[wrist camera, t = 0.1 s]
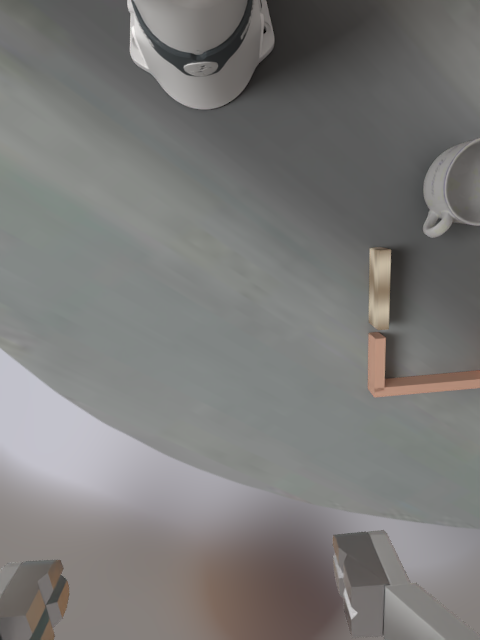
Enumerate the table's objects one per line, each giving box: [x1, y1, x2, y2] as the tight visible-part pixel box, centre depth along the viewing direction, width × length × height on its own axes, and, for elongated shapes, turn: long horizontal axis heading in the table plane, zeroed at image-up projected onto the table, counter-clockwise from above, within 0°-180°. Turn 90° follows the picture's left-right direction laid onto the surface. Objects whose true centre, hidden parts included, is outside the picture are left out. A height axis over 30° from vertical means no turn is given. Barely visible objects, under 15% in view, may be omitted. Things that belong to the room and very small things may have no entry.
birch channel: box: [369, 247, 391, 330], centre depth 56 cm, size 12×21×4 cm, turn 95°
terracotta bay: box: [368, 332, 480, 397], centre depth 60 cm, size 10×21×3 cm, turn 95°
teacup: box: [423, 138, 480, 238], centre depth 50 cm, size 14×11×8 cm
